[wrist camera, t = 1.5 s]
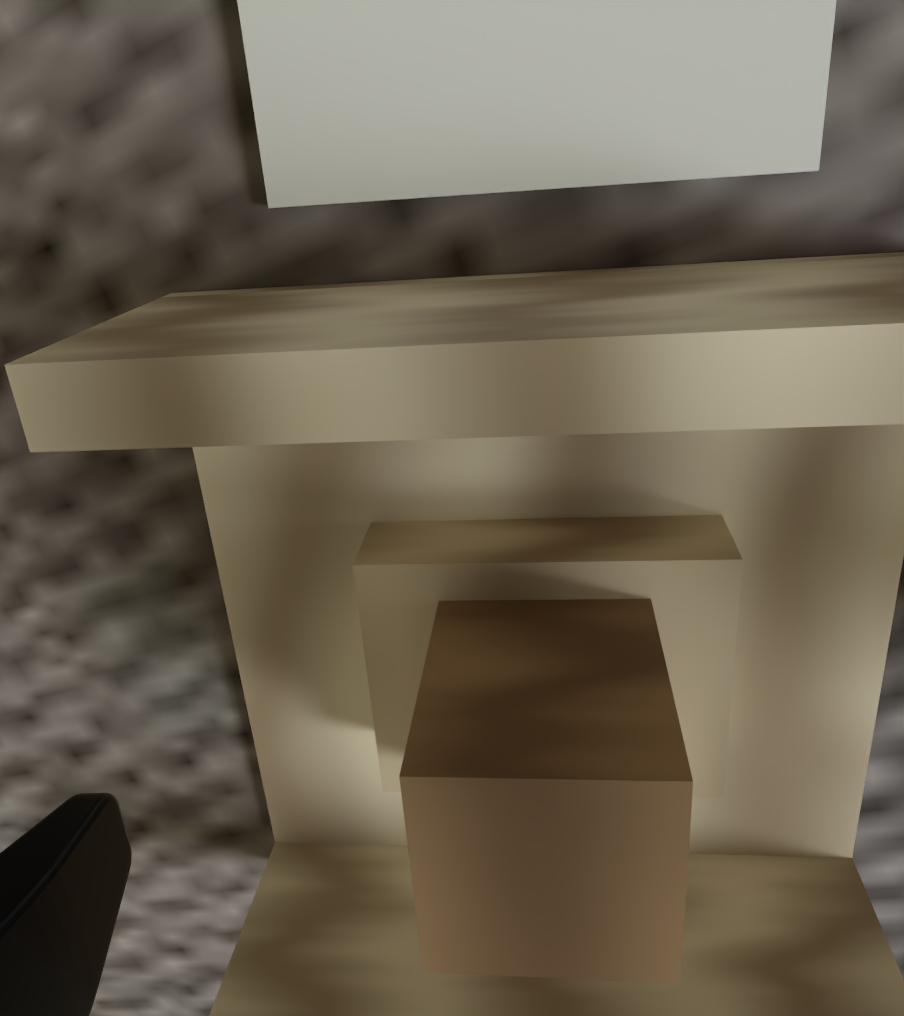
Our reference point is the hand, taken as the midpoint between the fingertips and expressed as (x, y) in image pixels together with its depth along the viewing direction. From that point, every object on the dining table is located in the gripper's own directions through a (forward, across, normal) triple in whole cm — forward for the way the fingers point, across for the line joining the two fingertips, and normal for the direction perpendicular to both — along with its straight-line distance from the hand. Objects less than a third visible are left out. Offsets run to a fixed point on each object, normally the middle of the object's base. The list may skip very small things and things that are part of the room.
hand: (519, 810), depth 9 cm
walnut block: (+10, -1, +6) cm, 12 cm away
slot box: (+13, -1, +6) cm, 14 cm away
